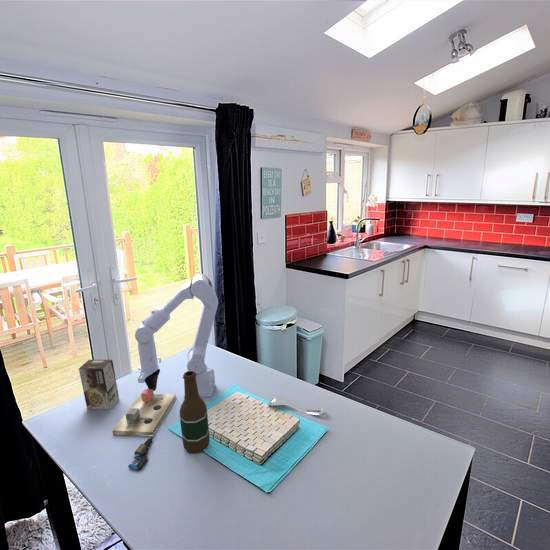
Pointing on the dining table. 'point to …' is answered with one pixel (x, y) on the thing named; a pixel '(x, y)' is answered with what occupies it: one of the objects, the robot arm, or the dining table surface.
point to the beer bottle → (193, 417)
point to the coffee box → (99, 384)
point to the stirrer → (281, 402)
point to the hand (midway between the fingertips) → (152, 389)
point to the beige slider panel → (144, 416)
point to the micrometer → (141, 455)
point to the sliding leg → (149, 395)
